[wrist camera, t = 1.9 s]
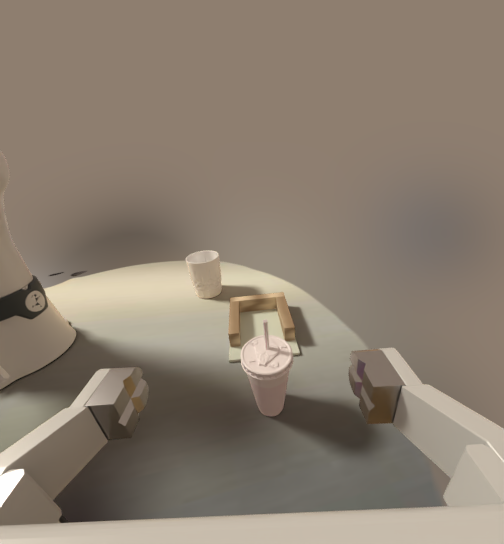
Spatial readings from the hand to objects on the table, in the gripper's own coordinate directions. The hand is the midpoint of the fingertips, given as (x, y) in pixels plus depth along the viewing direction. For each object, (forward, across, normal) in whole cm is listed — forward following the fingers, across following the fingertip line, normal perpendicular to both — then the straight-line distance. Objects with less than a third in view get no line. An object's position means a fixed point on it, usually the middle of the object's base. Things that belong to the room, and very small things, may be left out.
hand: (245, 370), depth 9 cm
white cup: (+47, -13, -22) cm, 53 cm away
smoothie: (+15, 0, -24) cm, 28 cm away
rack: (+31, 0, -22) cm, 38 cm away
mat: (+31, 0, -23) cm, 39 cm away
